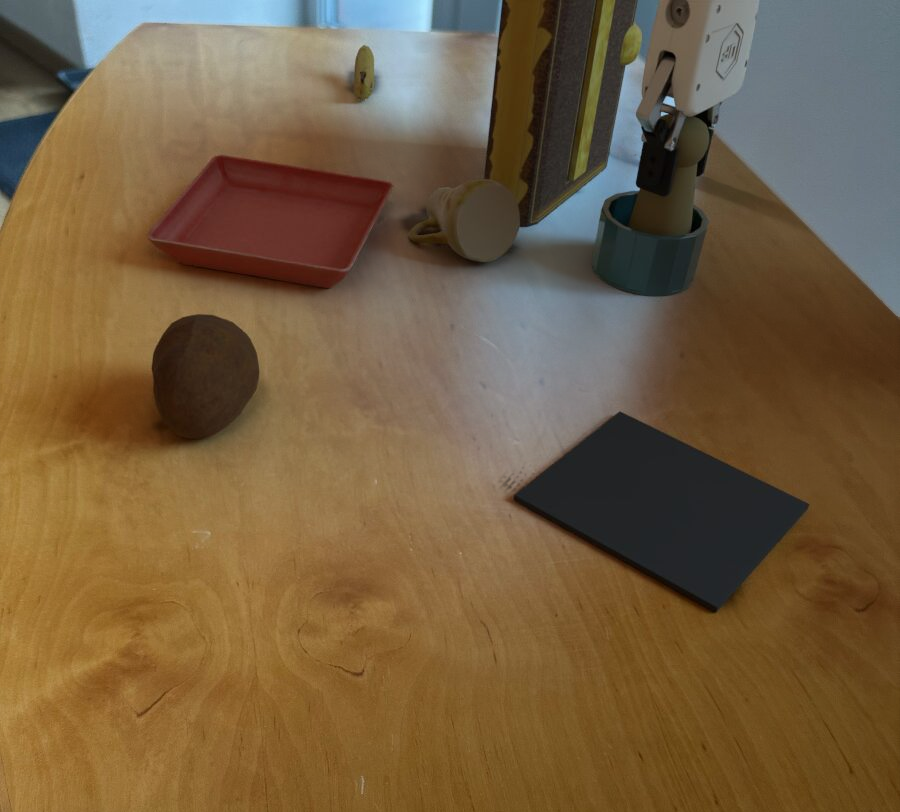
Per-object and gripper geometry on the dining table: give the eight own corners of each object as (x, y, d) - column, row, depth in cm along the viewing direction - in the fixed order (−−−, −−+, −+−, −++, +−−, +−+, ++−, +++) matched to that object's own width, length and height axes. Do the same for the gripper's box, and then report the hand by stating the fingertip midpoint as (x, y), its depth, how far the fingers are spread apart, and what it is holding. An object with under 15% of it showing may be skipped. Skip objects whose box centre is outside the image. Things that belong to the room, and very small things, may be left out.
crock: (711, 271, 97) (726, 215, 93) (660, 307, 92) (675, 249, 88) (625, 236, 101) (637, 181, 97) (572, 269, 95) (582, 212, 91)
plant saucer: (348, 304, 88) (349, 268, 85) (147, 271, 89) (142, 235, 87) (394, 214, 100) (396, 181, 98) (218, 186, 102) (215, 153, 99)
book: (539, 233, 100) (582, -63, 82) (463, 208, 102) (490, -84, 85) (625, 162, 114) (679, -104, 96) (557, 142, 116) (597, -121, 99)
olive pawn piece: (673, 264, 91) (702, 138, 83) (613, 244, 93) (635, 119, 85) (699, 239, 95) (728, 117, 87) (640, 221, 97) (664, 100, 89)
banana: (355, 77, 126) (355, 42, 123) (375, 79, 126) (375, 44, 123) (351, 108, 119) (352, 71, 116) (372, 109, 119) (373, 73, 116)
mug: (461, 214, 102) (513, 142, 94) (487, 297, 99) (541, 231, 91) (396, 205, 98) (443, 129, 90) (420, 291, 95) (471, 221, 87)
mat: (807, 509, 73) (810, 503, 72) (715, 613, 65) (717, 607, 64) (618, 416, 79) (619, 410, 79) (512, 500, 71) (513, 494, 71)
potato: (144, 454, 71) (127, 356, 66) (170, 376, 78) (157, 281, 73) (250, 461, 72) (242, 364, 66) (267, 382, 79) (261, 288, 73)
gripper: (710, -27, 71) (657, 225, 84) (812, -65, 81) (751, 166, 93) (618, -50, 74) (581, 197, 87) (728, -84, 84) (680, 142, 96)
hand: (669, 178), depth 90 cm, fingers closed on olive pawn piece, 5 cm apart
